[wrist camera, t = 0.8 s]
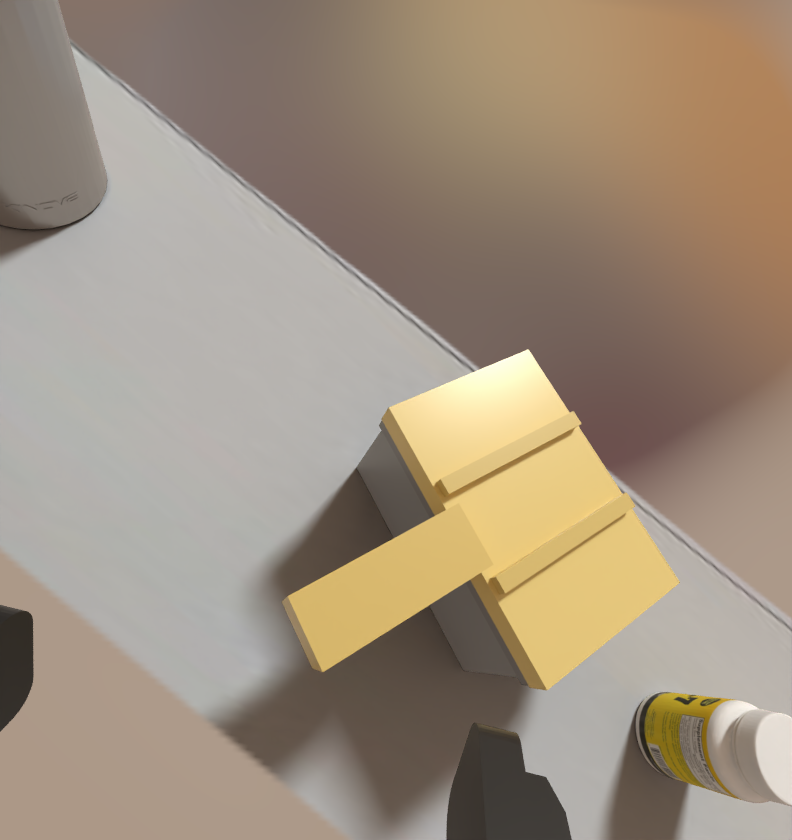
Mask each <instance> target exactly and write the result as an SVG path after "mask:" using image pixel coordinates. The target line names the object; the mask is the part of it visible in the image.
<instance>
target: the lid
mask: <svg viewBox="0 0 792 840" xmlns="http://www.w3.org/2000/svg"><path fill="white" fill-rule="evenodd" d="M382 421H383V423H384V425H385V427H386V428H387V430H388V432H389V434H390V436H391V437H392V439H393V441H394V443H395V445H396V446H397V448H398V450H399V452H400V454H401V455H402V457H403V459H404V461H405V463H406V465H407V466H408V468H409V470H410V472H411V474H412V475H413V477H414V479H415V481H416V483H417V484H418V486H419V488H420V490H421V492H422V493H423V495H424V497H425V499H426V501H427V503H428V504H429V506H430V508H431V510H432V512H433V513H434V515H435V516H434V517H432V518H430V519H428V520H427V521H425V522H423V523H421V524H419V525H417V526H416V527H414V528H412V529H410V530H408V531H406V532H405V533H403V534H401V535H399V536H397V537H395V538H394V539H392V540H390V541H388V542H386V543H384V544H383V545H381V546H379V547H377V548H375V549H373V550H372V551H370V552H368V553H366V554H364V555H362V556H361V557H359V558H357V559H355V560H353V561H351V562H350V563H348V564H346V565H344V566H342V567H340V568H339V569H337V570H335V571H333V572H331V573H329V574H327V575H326V576H324V577H322V578H320V579H318V580H316V581H315V582H313V583H311V584H309V585H307V586H305V587H304V588H302V589H300V590H298V591H296V592H294V593H293V594H291V595H289V596H287V597H286V598H285V599H284V600H283V601H282V604H283V606H284V608H285V610H286V612H287V614H288V617H289V619H290V621H291V623H292V625H293V627H294V630H295V632H296V634H297V636H298V638H299V641H300V643H301V645H302V647H303V649H304V651H305V654H306V656H307V658H308V660H309V662H310V665H311V667H312V669H315V670H318V671H320V672H324V671H326V670H327V669H329V668H331V667H332V666H334V665H335V664H337V663H338V662H340V661H342V660H343V659H345V658H346V657H348V656H350V655H351V654H353V653H354V652H356V651H357V650H359V649H361V648H362V647H364V646H365V645H367V644H369V643H370V642H372V641H373V640H375V639H376V638H378V637H380V636H381V635H383V634H384V633H386V632H388V631H389V630H391V629H392V628H394V627H396V626H397V625H399V624H400V623H402V622H403V621H405V620H407V619H408V618H410V617H411V616H413V615H415V614H416V613H418V612H419V611H421V610H422V609H424V608H426V607H427V606H429V605H430V604H432V603H434V602H435V601H437V600H438V599H440V598H441V597H443V596H445V595H446V594H448V593H449V592H451V591H453V590H454V589H456V588H457V587H459V586H461V585H462V584H464V583H465V582H467V581H468V580H471V582H472V584H473V586H474V588H475V589H476V591H477V593H478V595H479V597H480V598H481V600H482V602H483V604H484V606H485V608H486V609H487V611H488V613H489V615H490V617H491V618H492V620H493V622H494V624H495V626H496V627H497V629H498V631H499V633H500V635H501V636H502V638H503V640H504V642H505V644H506V646H507V647H508V649H509V651H510V653H511V655H512V656H513V658H514V660H515V662H516V664H517V665H518V667H519V669H520V671H521V673H522V674H523V676H524V678H525V680H526V682H527V684H528V685H529V687H530V688H535V689H542V690H548V689H550V688H551V687H552V686H553V685H554V684H556V683H557V682H558V681H559V680H561V679H562V678H563V677H564V676H566V675H567V674H568V673H569V672H570V671H572V670H573V669H574V668H575V667H577V666H578V665H579V664H580V663H582V662H583V661H584V660H585V659H586V658H588V657H589V656H590V655H591V654H593V653H594V652H595V651H596V650H598V649H599V648H600V647H601V646H603V645H604V644H605V643H606V642H607V641H609V640H610V639H611V638H612V637H614V636H615V635H616V634H617V633H619V632H620V631H621V630H622V629H623V628H625V627H626V626H627V625H628V624H630V623H631V622H632V621H633V620H635V619H636V618H637V617H638V616H639V615H641V614H642V613H643V612H644V611H646V610H647V609H648V608H649V607H651V606H652V605H653V604H654V603H655V602H657V601H658V600H659V599H660V598H662V597H663V596H664V595H665V594H667V593H668V592H669V591H670V590H671V589H673V588H674V587H675V586H676V585H678V584H679V583H680V582H679V580H678V579H677V577H676V576H675V574H674V573H673V571H672V569H671V568H670V566H669V565H668V563H667V562H666V560H665V559H664V557H663V556H662V554H661V553H660V551H659V549H658V548H657V546H656V545H655V543H654V542H653V540H652V539H651V537H650V536H649V534H648V533H647V531H646V529H645V528H644V526H643V525H642V523H641V522H640V520H639V519H638V517H637V516H636V514H635V513H634V511H633V510H632V508H634V507H635V505H634V503H633V502H632V500H631V499H630V497H629V495H628V494H627V493H624V494H622V493H621V491H620V490H619V488H618V486H617V485H616V483H615V482H614V480H613V479H612V477H611V476H610V474H609V473H608V471H607V470H606V468H605V466H604V465H603V463H602V462H601V460H600V459H599V457H598V456H597V454H596V453H595V451H594V450H593V448H592V447H591V445H590V443H589V442H588V440H587V439H586V437H585V436H584V434H583V433H582V431H581V430H580V428H579V427H578V426H579V425H580V424H581V422H580V420H579V419H578V417H577V416H576V414H575V413H574V412H571V413H569V411H568V410H567V408H566V407H565V405H564V403H563V402H562V400H561V399H560V397H559V396H558V394H557V393H556V391H555V390H554V388H553V387H552V385H551V383H550V382H549V381H548V379H547V378H546V376H545V374H544V373H543V371H542V370H541V368H540V367H539V365H538V363H537V362H536V360H535V359H534V357H533V356H532V354H531V353H530V351H529V350H526V351H523V352H521V353H519V354H516V355H514V356H512V357H509V358H507V359H504V360H502V361H499V362H497V363H495V364H492V365H490V366H487V367H485V368H483V369H480V370H478V371H475V372H473V373H471V374H468V375H466V376H463V377H461V378H459V379H456V380H454V381H451V382H449V383H447V384H444V385H442V386H439V387H437V388H434V389H432V390H430V391H427V392H425V393H422V394H420V395H418V396H415V397H413V398H410V399H408V400H406V401H403V402H401V403H398V404H396V405H394V406H391V407H389V408H388V410H387V411H386V413H385V414H384V416H383V417H382Z"/></svg>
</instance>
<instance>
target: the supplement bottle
mask: <svg viewBox="0 0 792 840" xmlns="http://www.w3.org/2000/svg"><path fill="white" fill-rule="evenodd" d="M636 735H637V740H638V743H639V746H640V749H641V751H642V753H643V755H644V757H645V759H646V760H647V761H648V763H649V764H650V765H651V766H652V767H653V768H654V769H655V770H656V771H658V772H659V773H661V774H663V775H665V776H667V777H670V778H672V779H676V780H680V781H683V782H686V783H690V784H693V785H696V786H699V787H702V788H705V789H709V790H712V791H715V792H718V793H721V794H724V795H727V796H731V797H734V798H737V799H740V800H744V801H748V802H752V803H764V802H768V801H773V802H777V803H781V804H785V805H789V806H792V717H790V716H788V715H785V714H782V713H777V712H772V711H767V710H763V709H758V708H757V707H755V706H753V705H751V704H749V703H747V702H743V701H739V700H733V699H724V698H714V697H705V696H697V695H688V694H679V693H670V692H657V693H654V694H651V695H649V696H648V697H646V698H645V699H644V700H643V702H642V703H641V705H640V707H639V709H638V712H637V716H636Z"/></svg>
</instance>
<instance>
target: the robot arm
mask: <svg viewBox="0 0 792 840" xmlns="http://www.w3.org/2000/svg"><path fill="white" fill-rule="evenodd" d="M106 188H107V175H106V170H105V166H104V163H103V159H102V156H101V152H100V149H99V145H98V142H97V138H96V134H95V131H94V127H93V123H92V119H91V116H90V112H89V109H88V105H87V102H86V98H85V95H84V91H83V87H82V84H81V80H80V77H79V73H78V70H77V66H76V63H75V59H74V56H73V52H72V49H71V45H70V42H69V38H68V35H67V31H66V27H65V24H64V21H63V17H62V13H61V10H60V6H59V3H58V0H0V225H3V226H8V227H13V228H19V229H46V228H55V227H59V226H62V225H66V224H70V223H72V222H74V221H76V220H79V219H81V218H83V217H84V216H86V215H87V214H88V213H90V212H91V211H93V210H94V209H95V208H96V206H97V205H98V204H99V203H100V202H101V201H102V198H103V196H104V194H105V192H106ZM32 683H33V619H32V615H31V614H30V613H29V612H27V611H22V610H19V609H15V608H10V607H7V606H3V605H0V731H1V730H2V729H3V728H4V727H5V726H6V725H7V724H8V723H9V722H10V721H11V720H12V719H13V718H14V716H15V715H16V714H17V713H18V712H19V710H20V709H21V707H22V706H23V704H24V702H25V701H26V699H27V697H28V694H29V692H30V690H31V687H32ZM447 840H572V839H571V835H570V830H569V826H568V821H567V817H566V812H565V811H564V809H563V807H562V805H561V803H560V801H559V800H558V798H557V796H556V794H555V792H554V791H553V789H552V787H551V785H550V783H549V782H548V780H547V778H546V777H543V776H539V775H535V774H531V773H527V772H525V766H524V760H523V754H522V747H521V742H520V738H519V736H518V734H517V733H514V732H510V731H506V730H502V729H498V728H494V727H490V726H486V725H482V724H477V723H474V724H473V725H472V727H471V730H470V732H469V735H468V738H467V741H466V744H465V748H464V751H463V754H462V757H461V760H460V763H459V766H458V769H457V772H456V775H455V778H454V781H453V784H452V788H451V792H450V798H449V805H448V813H447Z"/></svg>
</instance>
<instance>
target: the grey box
mask: <svg viewBox="0 0 792 840" xmlns="http://www.w3.org/2000/svg"><path fill="white" fill-rule="evenodd" d="M379 426H380V428H381V430H382V431H381V432H380V433H379V435H378V436H377V438H376V439H375V441H374V442H373V444H372V445H371V447H370V448H369V450H368V451H367V453H366V454H365V456H364V457H363V458H362V460H361V461H360V463H359V464H358V466H357V469H358V471H359V473H360V475H361V477H362V479H363V481H364V483H365V485H366V486H367V488H368V490H369V492H370V494H371V496H372V498H373V500H374V502H375V504H376V505H377V507H378V509H379V511H380V513H381V515H382V517H383V519H384V521H385V522H386V524H387V526H388V528H389V530H390V532H391V534H392V536H393V538H395V537H397V536H399V535H401V534H403V533H405V532H406V531H408V530H410V529H412V528H414V527H416V526H417V525H419V524H421V523H423V522H425V521H427V520H428V519H430V518H432V517H434V516H435V515H434V513H433V512H432V510H431V508H430V506H429V504H428V503H427V501H426V499H425V497H424V495H423V493H422V492H421V490H420V488H419V486H418V484H417V483H416V481H415V479H414V477H413V475H412V474H411V472H410V470H409V468H408V466H407V465H406V463H405V461H404V459H403V457H402V455H401V454H400V452H399V450H398V448H397V446H396V445H395V443H394V441H393V439H392V437H391V436H390V434H389V432H388V430H387V428H386V427H385V425H384V423H383V421H381V423H380V424H379ZM429 606H430V608H431V610H432V612H433V614H434V615H435V617H436V619H437V621H438V623H439V625H440V627H441V629H442V631H443V633H444V634H445V636H446V638H447V640H448V642H449V644H450V646H451V648H452V650H453V652H454V653H455V655H456V657H457V659H458V661H459V663H460V665H461V667H462V669H463V671H471V672H479V673H486V674H494V675H502V676H510V677H517V678H518V679H519V681H520V683H521V685H527V686H529V685H528V684H527V682H526V680H525V678H524V676H523V674H522V673H521V671H520V669H519V667H518V665H517V664H516V662H515V660H514V658H513V656H512V655H511V653H510V651H509V649H508V647H507V646H506V644H505V642H504V640H503V638H502V636H501V635H500V633H499V631H498V629H497V627H496V626H495V624H494V622H493V620H492V618H491V617H490V615H489V613H488V611H487V609H486V608H485V606H484V604H483V602H482V600H481V598H480V597H479V595H478V593H477V591H476V589H475V588H474V586H473V584H472V582H471V580H468V581H467V582H465V583H464V584H462V585H461V586H459V587H457V588H456V589H454V590H453V591H451V592H449V593H448V594H446V595H445V596H443V597H441V598H440V599H438V600H437V601H435V602H434V603H432V604H430V605H429Z"/></svg>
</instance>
